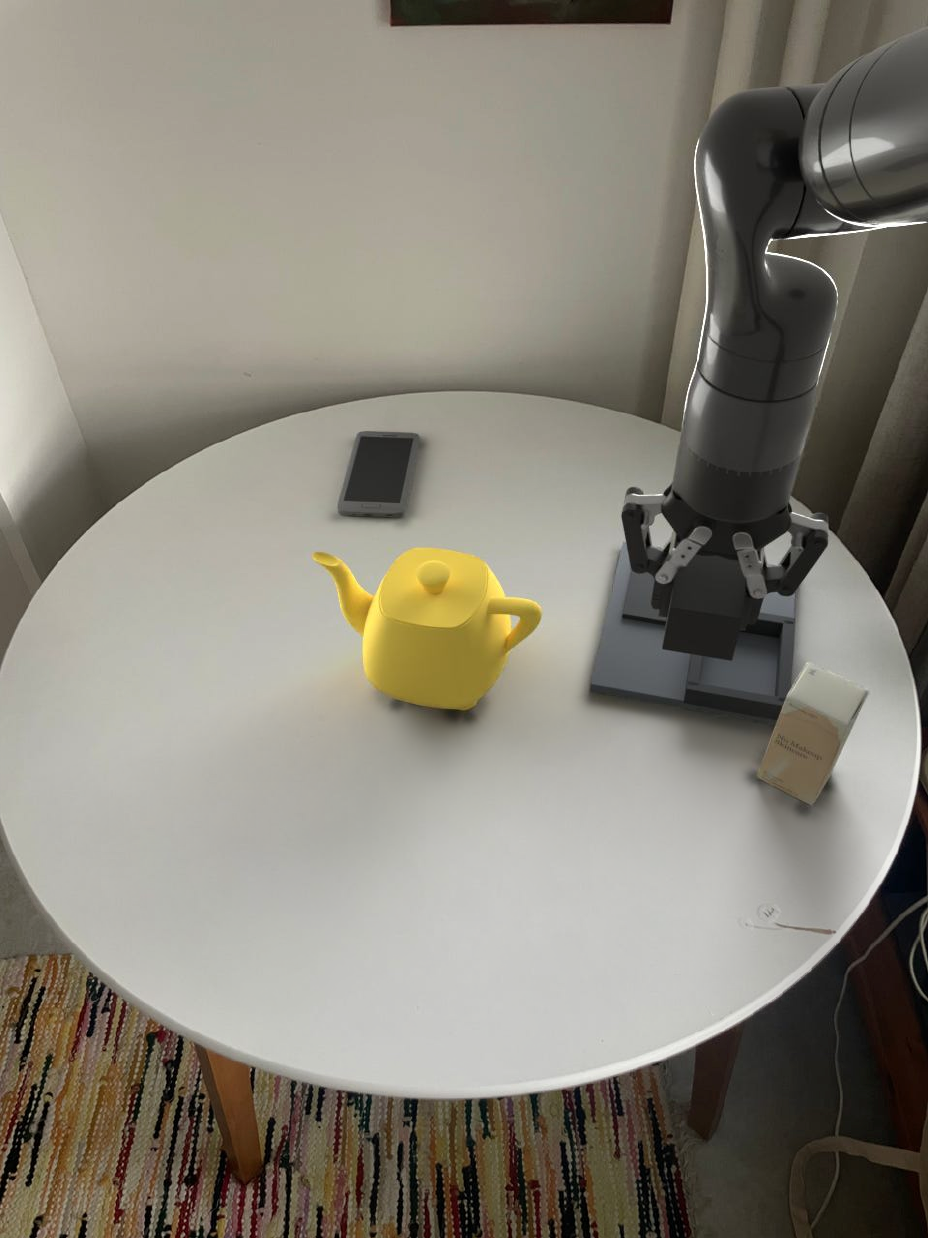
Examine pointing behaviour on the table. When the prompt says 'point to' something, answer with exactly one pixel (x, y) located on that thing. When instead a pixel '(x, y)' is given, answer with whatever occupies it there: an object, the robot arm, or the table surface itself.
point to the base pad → (693, 656)
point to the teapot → (433, 626)
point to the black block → (706, 608)
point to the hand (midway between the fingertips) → (702, 614)
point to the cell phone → (379, 474)
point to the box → (811, 732)
